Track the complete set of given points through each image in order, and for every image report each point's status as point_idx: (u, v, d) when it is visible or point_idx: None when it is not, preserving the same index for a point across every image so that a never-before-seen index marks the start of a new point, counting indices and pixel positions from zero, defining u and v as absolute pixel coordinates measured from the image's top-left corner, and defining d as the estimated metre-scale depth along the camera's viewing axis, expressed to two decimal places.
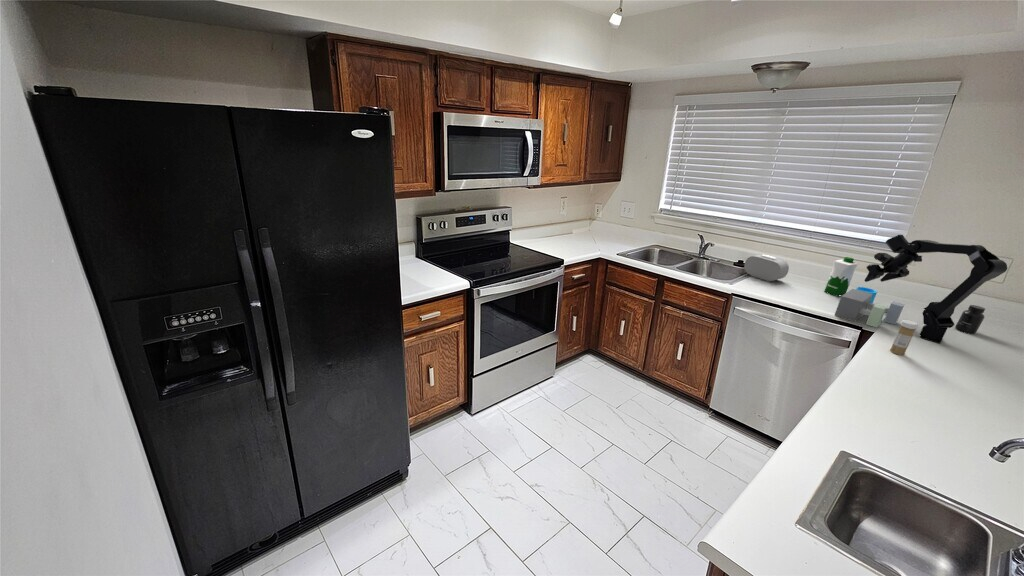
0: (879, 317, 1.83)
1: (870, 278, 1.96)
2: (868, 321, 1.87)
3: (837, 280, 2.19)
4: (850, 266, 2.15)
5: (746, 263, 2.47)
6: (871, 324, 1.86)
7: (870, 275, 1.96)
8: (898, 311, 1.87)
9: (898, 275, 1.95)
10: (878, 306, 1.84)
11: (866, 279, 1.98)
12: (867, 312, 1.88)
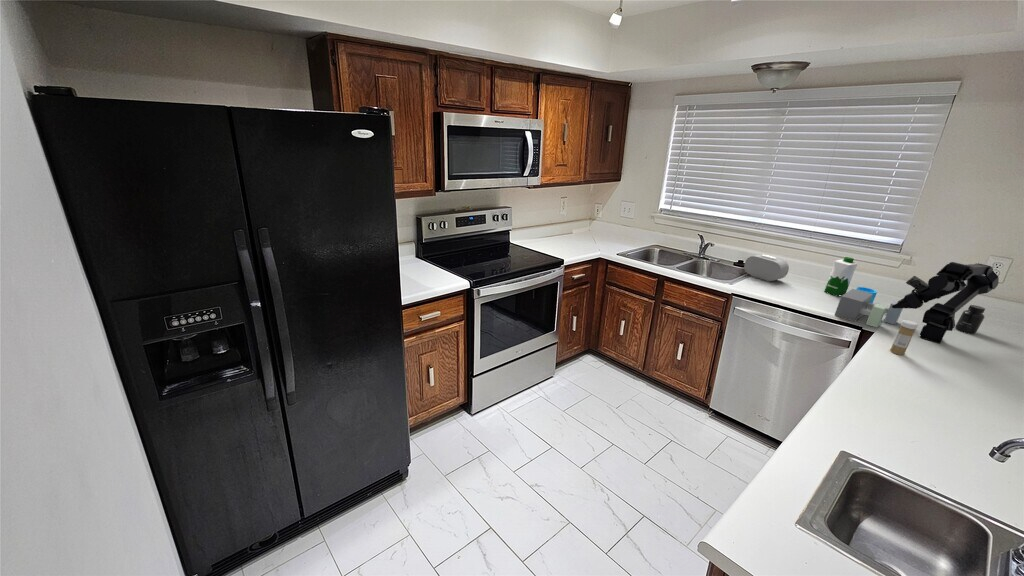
0: (879, 317, 1.83)
1: (902, 306, 1.74)
2: (868, 321, 1.87)
3: (837, 280, 2.19)
4: (850, 266, 2.15)
5: (746, 263, 2.47)
6: (871, 324, 1.86)
7: (903, 303, 1.74)
8: (898, 311, 1.87)
9: None
10: (878, 306, 1.84)
11: (895, 306, 1.77)
12: (867, 312, 1.88)
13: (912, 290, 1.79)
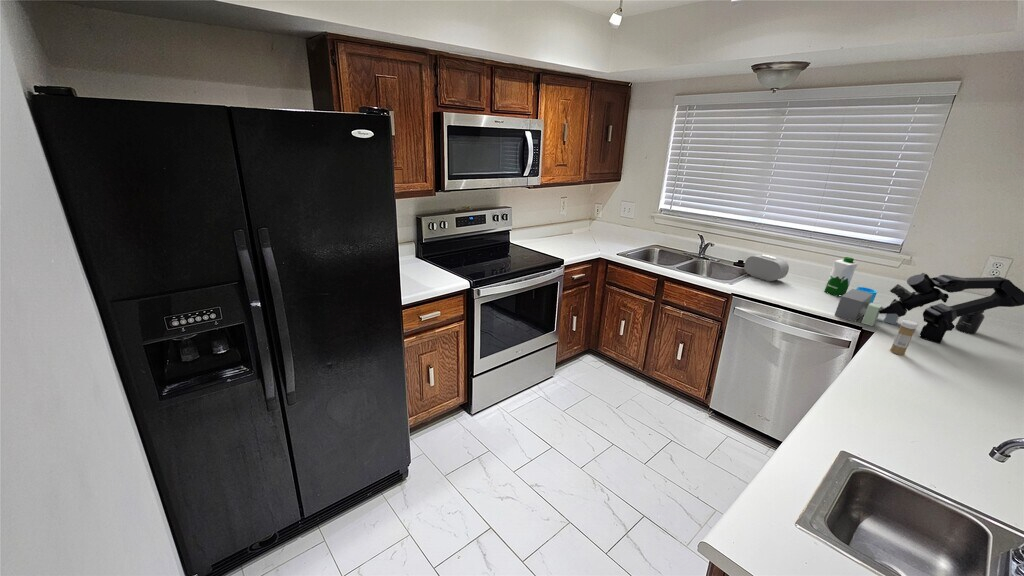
0: (874, 316, 1.85)
1: (889, 312, 1.81)
2: (863, 320, 1.88)
3: (837, 280, 2.19)
4: (850, 266, 2.15)
5: (746, 263, 2.47)
6: (866, 323, 1.87)
7: (890, 309, 1.81)
8: None
9: None
10: (873, 305, 1.86)
11: (882, 311, 1.83)
12: (862, 311, 1.89)
13: (893, 300, 1.81)
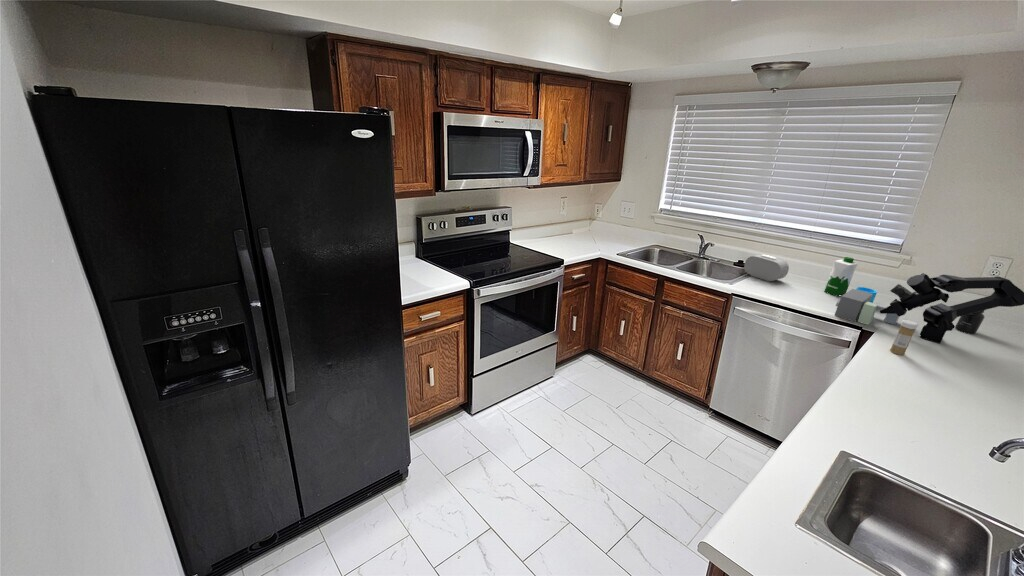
0: (870, 314, 1.86)
1: (890, 312, 1.81)
2: (859, 318, 1.89)
3: (837, 280, 2.19)
4: (850, 266, 2.15)
5: (746, 263, 2.47)
6: (862, 321, 1.88)
7: (890, 309, 1.81)
8: None
9: None
10: (869, 304, 1.87)
11: (883, 311, 1.84)
12: None
13: (894, 300, 1.81)
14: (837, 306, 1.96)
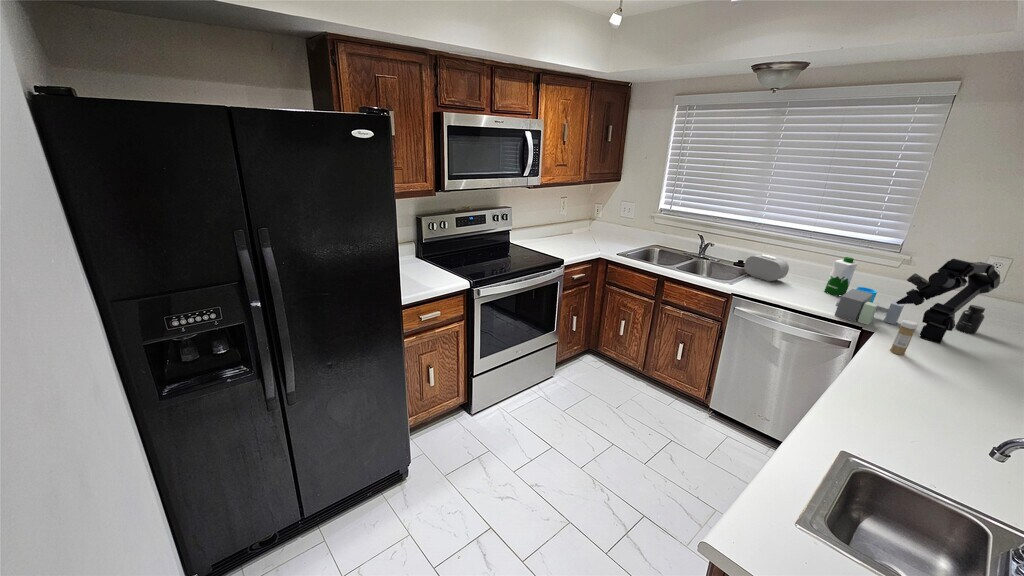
0: (870, 314, 1.86)
1: (907, 302, 1.76)
2: (859, 318, 1.89)
3: (837, 280, 2.19)
4: (850, 266, 2.15)
5: (746, 263, 2.47)
6: (862, 321, 1.88)
7: (907, 299, 1.76)
8: (898, 311, 1.87)
9: None
10: (869, 304, 1.87)
11: (899, 302, 1.79)
12: None
13: (911, 290, 1.76)
14: (837, 306, 1.96)
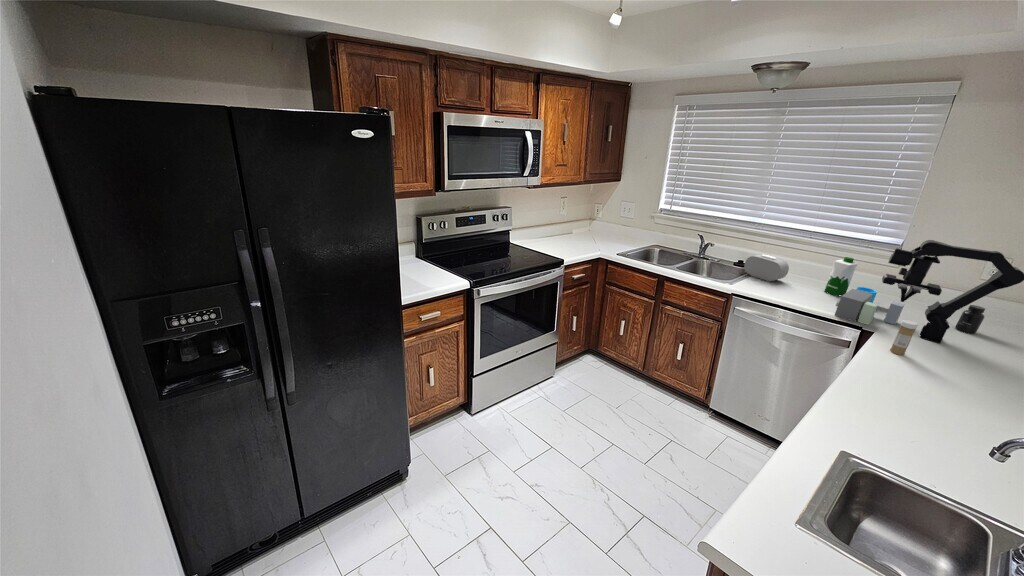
0: (870, 314, 1.86)
1: (901, 294, 1.80)
2: (859, 318, 1.89)
3: (837, 280, 2.19)
4: (850, 266, 2.15)
5: (746, 263, 2.47)
6: (862, 321, 1.88)
7: (902, 291, 1.80)
8: (898, 311, 1.87)
9: (914, 290, 1.76)
10: (869, 304, 1.87)
11: None
12: None
13: (910, 286, 1.80)
14: (837, 306, 1.96)
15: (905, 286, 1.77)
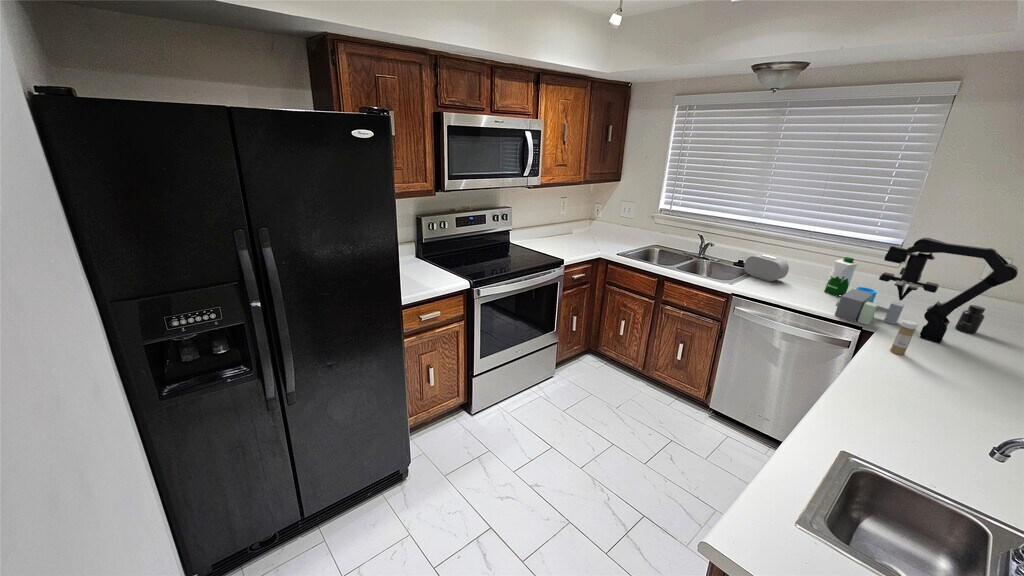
0: (870, 314, 1.86)
1: None
2: (859, 318, 1.89)
3: (837, 280, 2.19)
4: (850, 266, 2.15)
5: (746, 263, 2.47)
6: (862, 321, 1.88)
7: None
8: (898, 311, 1.87)
9: (910, 287, 1.78)
10: (869, 304, 1.87)
11: (899, 296, 1.82)
12: None
13: None
14: (837, 306, 1.96)
15: (901, 283, 1.80)
